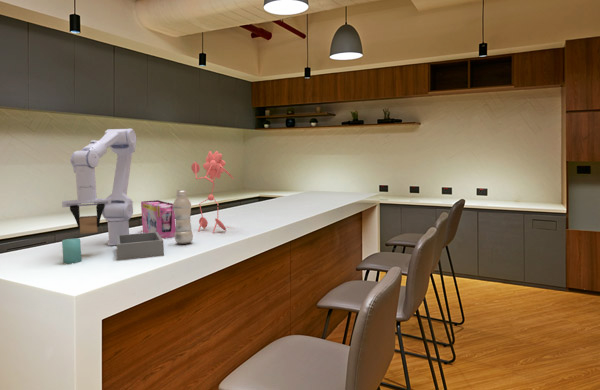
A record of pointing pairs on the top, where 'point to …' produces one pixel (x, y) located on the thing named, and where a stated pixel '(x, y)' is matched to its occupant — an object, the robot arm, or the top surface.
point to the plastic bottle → (182, 218)
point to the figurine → (214, 170)
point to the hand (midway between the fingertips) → (89, 227)
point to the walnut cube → (88, 224)
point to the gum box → (158, 218)
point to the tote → (139, 245)
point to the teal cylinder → (71, 250)
